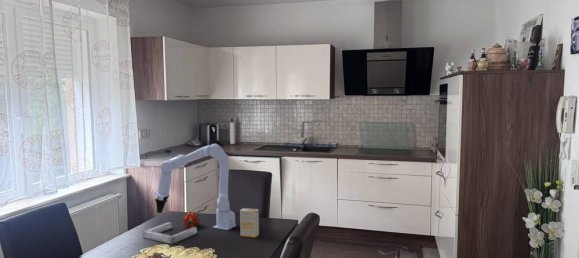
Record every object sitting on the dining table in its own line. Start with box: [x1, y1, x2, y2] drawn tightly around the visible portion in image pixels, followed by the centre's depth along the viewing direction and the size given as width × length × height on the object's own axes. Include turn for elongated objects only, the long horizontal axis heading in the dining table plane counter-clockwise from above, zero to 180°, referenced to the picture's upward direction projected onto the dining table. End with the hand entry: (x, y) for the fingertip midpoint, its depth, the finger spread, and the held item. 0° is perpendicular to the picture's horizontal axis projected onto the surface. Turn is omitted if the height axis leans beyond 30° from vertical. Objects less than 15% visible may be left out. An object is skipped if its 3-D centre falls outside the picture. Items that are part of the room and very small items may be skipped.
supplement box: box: [239, 207, 260, 239], centre depth 189 cm, size 8×5×13 cm, turn 71°
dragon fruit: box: [182, 211, 200, 229], centre depth 203 cm, size 8×8×12 cm
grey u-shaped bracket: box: [142, 221, 198, 245], centre depth 190 cm, size 19×17×3 cm
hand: (160, 210), depth 196 cm, fingers open, 7 cm apart
